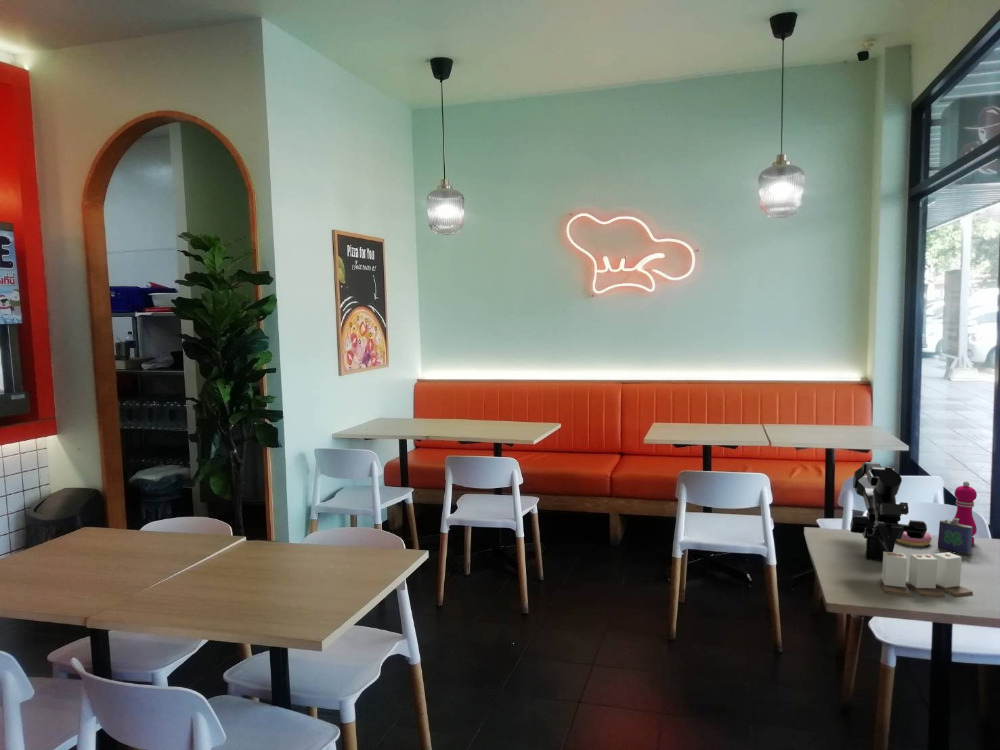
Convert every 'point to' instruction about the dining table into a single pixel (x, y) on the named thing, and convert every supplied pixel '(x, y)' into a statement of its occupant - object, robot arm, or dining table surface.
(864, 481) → the robot arm
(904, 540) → the doughnut
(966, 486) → the pepper mill
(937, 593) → the tile tracks
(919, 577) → the two-bump white pillar
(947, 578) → the white pillar with knob
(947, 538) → the flask
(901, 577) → the three-dot tile
